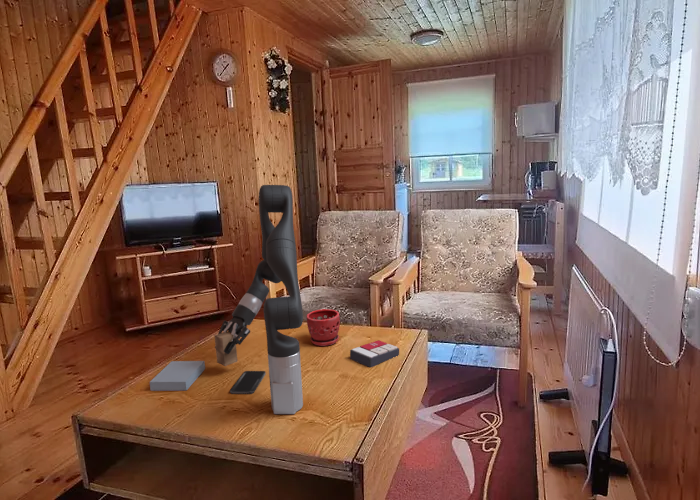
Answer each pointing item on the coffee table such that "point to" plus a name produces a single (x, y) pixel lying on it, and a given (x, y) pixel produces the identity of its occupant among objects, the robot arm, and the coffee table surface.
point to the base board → (177, 376)
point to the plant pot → (323, 327)
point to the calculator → (373, 353)
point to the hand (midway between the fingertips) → (221, 350)
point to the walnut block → (221, 344)
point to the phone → (248, 382)
